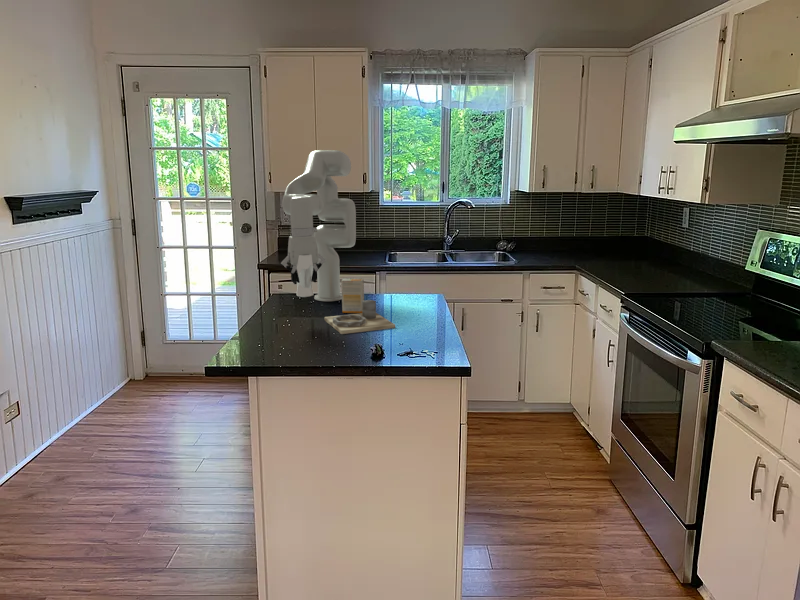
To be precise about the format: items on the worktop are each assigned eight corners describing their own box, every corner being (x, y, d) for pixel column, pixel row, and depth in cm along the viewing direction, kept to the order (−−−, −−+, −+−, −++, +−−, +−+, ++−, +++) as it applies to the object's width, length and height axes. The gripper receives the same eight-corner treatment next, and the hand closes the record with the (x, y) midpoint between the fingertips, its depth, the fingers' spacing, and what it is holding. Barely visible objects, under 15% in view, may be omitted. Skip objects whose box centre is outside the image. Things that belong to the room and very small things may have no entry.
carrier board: (324, 320, 218) (324, 301, 217) (374, 314, 226) (374, 296, 225) (341, 334, 201) (340, 313, 199) (395, 327, 208) (395, 308, 207)
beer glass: (291, 295, 210) (289, 254, 206) (303, 291, 216) (301, 251, 212) (307, 298, 207) (305, 256, 203) (318, 293, 213) (317, 252, 209)
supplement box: (364, 310, 233) (364, 278, 230) (362, 313, 228) (362, 280, 225) (344, 310, 234) (343, 277, 231) (341, 313, 229) (341, 279, 226)
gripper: (323, 229, 212) (325, 278, 217) (275, 232, 205) (278, 282, 210) (329, 232, 205) (331, 282, 210) (279, 235, 199) (282, 287, 203)
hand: (304, 282), depth 210 cm, fingers closed on beer glass, 6 cm apart
